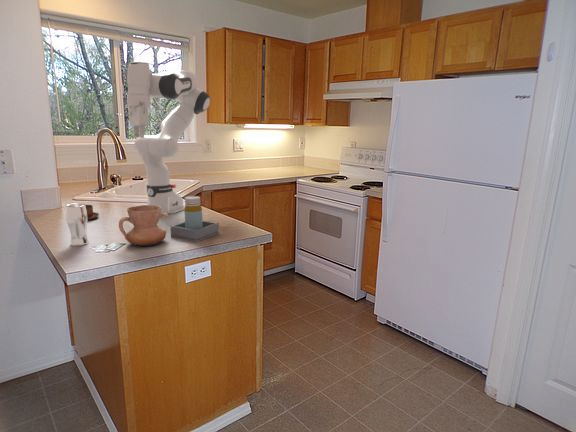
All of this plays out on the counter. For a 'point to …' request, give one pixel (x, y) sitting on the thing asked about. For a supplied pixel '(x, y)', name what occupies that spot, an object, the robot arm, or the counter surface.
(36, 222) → the counter surface
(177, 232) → the box
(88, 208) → the cup and saucer
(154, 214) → the ceramic jug
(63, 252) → the counter surface
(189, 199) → the bottle
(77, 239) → the beer glass
